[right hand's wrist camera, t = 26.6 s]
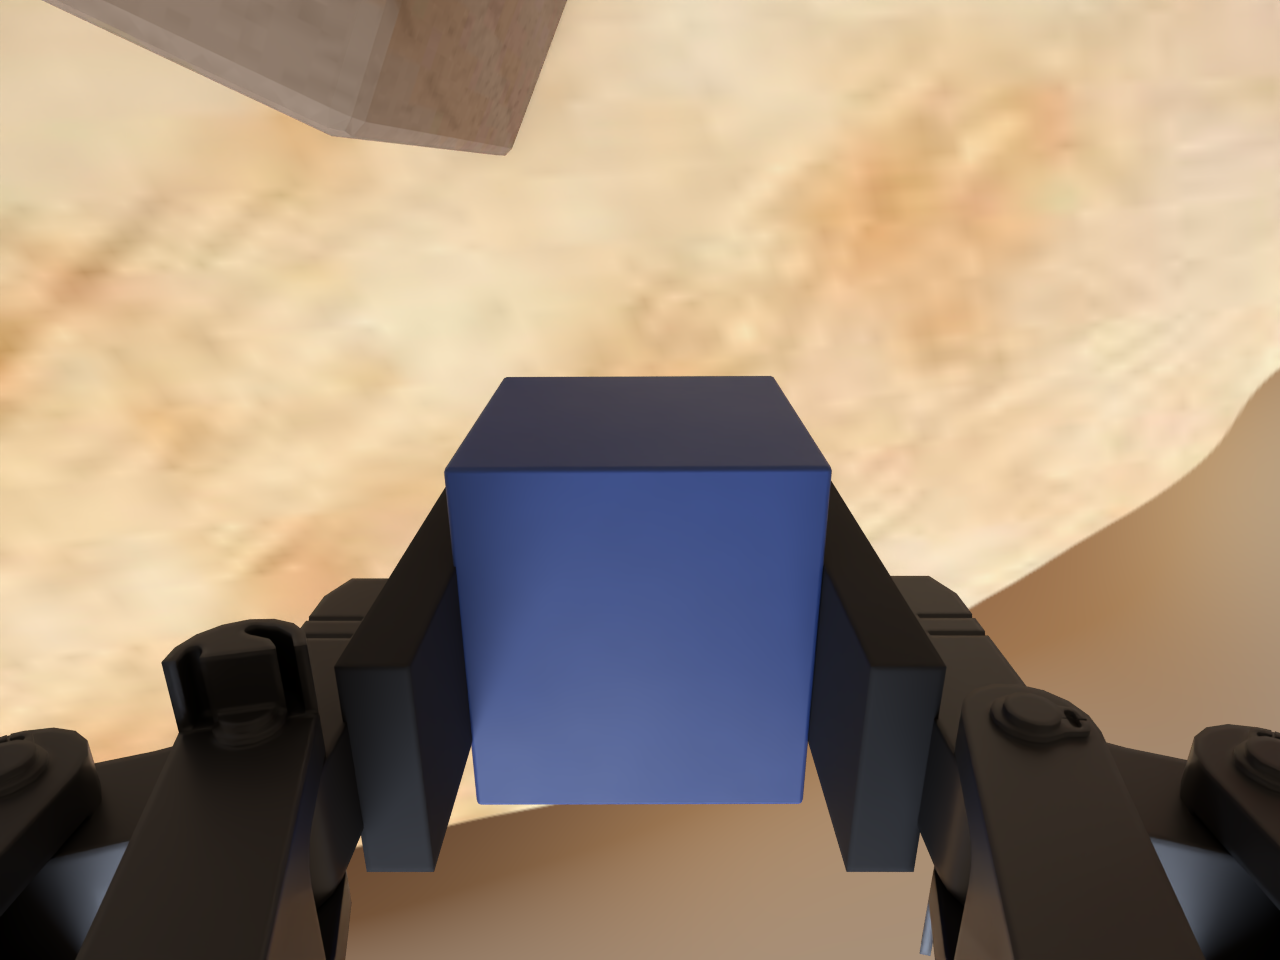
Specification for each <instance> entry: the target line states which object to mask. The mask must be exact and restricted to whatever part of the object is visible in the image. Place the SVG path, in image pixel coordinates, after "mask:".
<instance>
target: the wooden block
mask: <svg viewBox="0 0 1280 960" xmlns="http://www.w3.org/2000/svg"><path fill="white" fill-rule="evenodd" d="M43 1H45V2H47V3H49V4H51V5H53V6H55V7H58V8H60V9H62V10H64V11H66V12H68V13H70V14H73V15H75V16H77V17H79V18H81V19H83V20H85V21H87V22H90V23H92V24H94V25H96V26H98V27H100V28H102V29H105V30H107V31H109V32H111V33H113V34H115V35H117V36H119V37H122V38H124V39H126V40H128V41H130V42H132V43H134V44H137V45H139V46H141V47H143V48H145V49H147V50H149V51H151V52H154V53H156V54H158V55H160V56H162V57H164V58H166V59H169V60H171V61H173V62H175V63H177V64H179V65H181V66H183V67H186V68H188V69H190V70H192V71H194V72H196V73H198V74H201V75H203V76H205V77H207V78H209V79H211V80H213V81H215V82H218V83H220V84H222V85H224V86H226V87H228V88H230V89H233V90H235V91H237V92H239V93H241V94H243V95H245V96H247V97H250V98H252V99H254V100H256V101H258V102H260V103H262V104H265V105H267V106H269V107H271V108H273V109H275V110H277V111H279V112H282V113H284V114H286V115H288V116H290V117H292V118H294V119H297V120H299V121H301V122H303V123H305V124H307V125H309V126H311V127H314V128H316V129H318V130H320V131H322V132H324V133H326V134H329V135H331V136H336V137H344V138H353V139H362V140H370V141H379V142H388V143H396V144H405V145H414V146H422V147H431V148H440V149H448V150H457V151H466V152H474V153H483V154H492V155H506V154H507V153H508V152H509V151H510V150H511V149H512V147H513V144H514V141H515V139H516V136H517V133H518V131H519V128H520V125H521V123H522V120H523V117H524V114H525V112H526V109H527V106H528V104H529V101H530V98H531V96H532V93H533V90H534V87H535V85H536V82H537V79H538V77H539V74H540V71H541V69H542V66H543V63H544V60H545V58H546V55H547V52H548V50H549V47H550V44H551V42H552V39H553V36H554V33H555V31H556V28H557V25H558V23H559V20H560V17H561V15H562V12H563V9H564V7H565V4H566V1H567V0H43Z"/></svg>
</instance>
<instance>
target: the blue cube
mask: <svg viewBox="0 0 1280 960" xmlns="http://www.w3.org/2000/svg"><path fill="white" fill-rule="evenodd" d="M831 474H832V470H831V467H830V465H829V464H828V462H827V461H826V459H825V457H824V456H823V454H822V453H821V451H820V450H819V448H818V446H817V445H816V443H815V442H814V440H813V439H812V437H811V435H810V434H809V432H808V431H807V429H806V428H805V426H804V425H803V423H802V421H801V420H800V418H799V417H798V415H797V414H796V412H795V410H794V409H793V407H792V406H791V404H790V403H789V401H788V399H787V398H786V396H785V395H784V393H783V392H782V390H781V388H780V387H779V385H778V384H777V382H776V381H775V379H774V377H772V376H679V377H506V378H504V379H503V381H502V382H501V384H500V386H499V387H498V389H497V390H496V392H495V393H494V395H493V396H492V398H491V399H490V401H489V402H488V404H487V405H486V407H485V409H484V410H483V412H482V413H481V415H480V416H479V418H478V419H477V421H476V422H475V424H474V425H473V427H472V428H471V430H470V431H469V433H468V435H467V436H466V438H465V439H464V441H463V442H462V444H461V445H460V447H459V448H458V450H457V451H456V453H455V454H454V456H453V458H452V459H451V461H450V462H449V464H448V465H447V467H446V468H445V471H444V475H445V485H446V495H447V505H448V515H449V525H450V535H451V545H452V555H453V565H454V567H456V574H457V584H458V595H459V606H460V616H461V627H462V638H463V648H464V659H465V669H466V680H467V691H468V701H469V712H470V723H471V733H472V745H471V746H472V756H473V766H474V776H475V786H476V796H477V802H478V803H479V804H799V803H801V802H802V800H803V791H804V780H805V768H806V757H807V746H808V732H809V721H810V710H811V699H812V688H813V677H814V666H815V655H816V644H817V632H818V621H819V610H820V598H821V587H822V576H823V564H824V553H825V542H826V530H827V519H828V508H829V496H830V485H831Z"/></svg>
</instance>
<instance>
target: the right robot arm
mask: <svg viewBox="0 0 1280 960" xmlns="http://www.w3.org/2000/svg"><path fill="white" fill-rule="evenodd" d="M161 663H162V667H163V671H164V675H165V679H166V683H167V687H168V691H169V695H170V699H171V703H172V707H173V711H174V715H175V719H176V723H177V727H178V731H179V734H178V736H177V738H176V740H175V743H174V745H173V746H172V747H169V748H165V749H161V750H157V751H153V752H148V753H144V754H139V755H134V756H129V757H124V758H119V759H114V760H109V761H104V762H99V763H94V761H93V757H92V754H91V751H90V747H89V744H88V741H87V740H86V739H85V738H84V737H82V736H81V735H80V734H79V733H77V732H76V731H73V730H66V729H59V728H46V729H37V730H28V731H22V732H17V733H13V734H11V735H9V736H7V735H5V736H2V737H0V960H345V956H346V948H347V939H348V930H349V921H350V912H351V903H352V902H351V896H350V889H349V883H348V877H347V871H346V869H347V867H348V864H349V862H350V859H351V857H352V855H353V852H354V850H355V848H356V845H357V843H358V841H359V838H360V836H361V838H362V844H363V850H364V857H365V863H366V869H367V872H434V870H435V867H436V863H437V860H438V856H439V853H440V849H441V846H442V843H443V839H444V836H445V833H446V829H447V826H448V822H449V819H450V816H451V812H452V809H453V806H454V802H455V799H456V795H457V792H458V789H459V785H460V782H461V778H462V775H463V772H464V768H465V765H466V761H467V758H468V755H469V751H470V748H471V745H472V733H471V723H470V712H469V701H468V691H467V680H466V669H465V659H464V648H463V638H462V627H461V616H460V606H459V595H458V584H457V574H456V567H454V565H453V555H452V545H451V535H450V525H449V515H448V505H447V495H446V487H445V489H444V490H443V492H442V494H441V495H440V497H439V498H438V500H437V502H436V503H435V505H434V506H433V508H432V510H431V511H430V513H429V514H428V516H427V518H426V519H425V521H424V523H423V524H422V526H421V527H420V529H419V531H418V532H417V534H416V535H415V537H414V539H413V540H412V542H411V543H410V545H409V547H408V548H407V550H406V551H405V553H404V555H403V556H402V558H401V560H400V561H399V563H398V564H397V566H396V568H395V569H394V571H393V572H392V574H391V576H390V577H389V579H351V580H349V581H347V582H346V583H344V584H343V585H341V586H340V587H338V588H336V589H335V590H333V591H332V592H330V593H329V594H327V595H326V596H324V598H323V599H322V600H321V602H320V603H319V604H318V606H317V607H316V608H315V610H314V611H313V612H312V614H311V615H310V616H309V621H306V622H305V623H304V624H303V626H302V627H301V628H299V627H298V626H297V625H295V624H294V623H290V622H286V621H281V620H277V619H249V620H244V621H239V622H234V623H229V624H224V625H221V626H218V627H215V628H213V629H210V630H207V631H205V632H202V633H199V634H197V635H195V636H193V637H192V638H190V639H188V640H187V641H185V642H183V643H182V644H180V645H178V646H177V647H175V648H174V649H173V650H172V651H171V652H170V653H169V655H168V656H167V657H166V658H165V659H164V660H163V661H162V662H161ZM808 743H809V746H810V749H811V753H812V756H813V760H814V763H815V766H816V770H817V773H818V777H819V780H820V783H821V786H822V790H823V793H824V797H825V800H826V804H827V807H828V810H829V814H830V817H831V820H832V824H833V827H834V831H835V834H836V837H837V841H838V844H839V848H840V851H841V854H842V858H843V861H844V865H845V868H846V871H847V872H914V866H915V860H916V854H917V848H918V842H919V835H920V833H921V835H922V838H923V840H924V842H925V845H926V847H927V849H928V852H929V854H930V856H931V859H932V861H933V864H934V871H933V877H932V883H931V888H930V894H929V900H928V906H927V911H926V917H925V923H924V929H923V935H922V941H921V948H920V954H924V955H929V956H930V955H931V949H932V944H933V946H934V954H935V960H1280V733H1278V732H1275V733H1274V732H1271V730H1267V729H1263V728H1258V727H1249V726H1240V725H1231V724H1226V725H1219V726H1212V727H1206V728H1205V729H1204V730H1203V731H1201V732H1200V733H1199V734H1197V735H1196V736H1195V737H1194V740H1193V743H1192V747H1191V750H1190V753H1189V756H1188V760H1183V759H1179V758H1174V757H1169V756H1164V755H1159V754H1154V753H1149V752H1144V751H1139V750H1134V749H1130V748H1125V747H1121V746H1118V745H1114V744H1110V743H1106V741H1105V739H1104V737H1103V735H1102V732H1101V731H1100V729H1099V728H1098V727H1097V726H1096V724H1095V723H1094V722H1093V720H1092V719H1091V718H1090V716H1089V715H1087V714H1086V713H1085V712H1083V711H1082V710H1080V709H1079V708H1077V707H1076V706H1075V705H1073V704H1072V703H1070V702H1069V701H1067V700H1065V699H1063V698H1060V697H1058V696H1056V695H1053V694H1051V693H1049V692H1046V691H1044V690H1040V689H1036V688H1031V687H1027V686H1026V685H1025V684H1024V682H1023V681H1022V680H1021V678H1020V677H1019V676H1018V674H1017V673H1016V672H1015V671H1014V669H1013V668H1012V666H1011V665H1010V664H1009V662H1008V661H1007V660H1006V659H1005V657H1004V656H1003V655H1002V653H1001V652H1000V651H999V649H998V648H997V647H996V645H995V644H994V643H993V641H992V640H991V639H990V637H989V636H985V631H984V629H983V628H982V627H981V625H980V624H979V623H978V621H977V620H976V619H975V618H972V613H971V612H970V611H969V609H968V608H967V607H966V605H965V604H964V603H963V601H962V600H961V599H960V597H959V596H958V595H957V594H956V593H955V592H953V591H952V590H950V589H949V588H947V587H945V586H944V585H942V584H941V583H939V582H938V581H936V580H934V579H933V578H931V577H930V576H890V575H889V573H888V571H887V570H886V568H885V567H884V565H883V563H882V562H881V560H880V559H879V557H878V555H877V554H876V552H875V551H874V549H873V547H872V546H871V544H870V542H869V541H868V539H867V538H866V536H865V534H864V533H863V531H862V530H861V528H860V526H859V525H858V523H857V522H856V520H855V518H854V517H853V515H852V514H851V512H850V510H849V509H848V507H847V505H846V504H845V502H844V501H843V499H842V497H841V496H840V494H839V493H838V491H837V489H836V488H835V486H834V485H833V483H832V481H831V485H830V496H829V508H828V519H827V530H826V542H825V553H824V564H823V576H822V587H821V598H820V610H819V621H818V632H817V644H816V655H815V666H814V677H813V688H812V699H811V710H810V721H809V732H808Z"/></svg>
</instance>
